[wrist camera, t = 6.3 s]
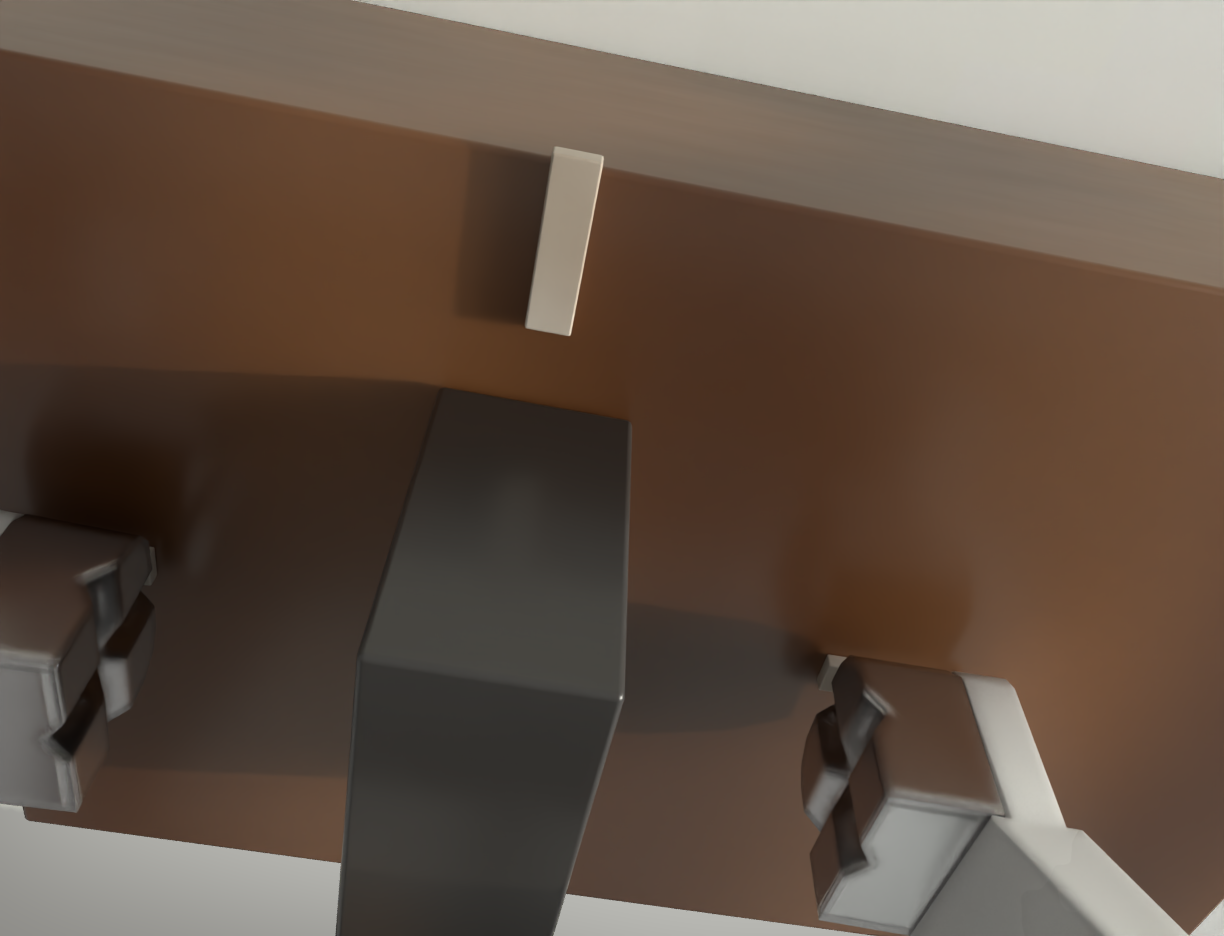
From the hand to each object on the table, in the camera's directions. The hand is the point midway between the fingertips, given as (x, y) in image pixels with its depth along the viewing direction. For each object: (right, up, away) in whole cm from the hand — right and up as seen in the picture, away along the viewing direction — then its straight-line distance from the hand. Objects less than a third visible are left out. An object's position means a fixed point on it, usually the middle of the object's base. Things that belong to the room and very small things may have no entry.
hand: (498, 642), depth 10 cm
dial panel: (+2, +2, +3) cm, 4 cm away
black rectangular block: (0, 0, 0) cm, 0 cm away
